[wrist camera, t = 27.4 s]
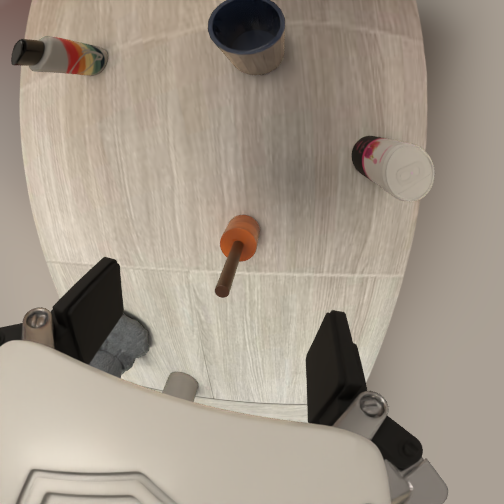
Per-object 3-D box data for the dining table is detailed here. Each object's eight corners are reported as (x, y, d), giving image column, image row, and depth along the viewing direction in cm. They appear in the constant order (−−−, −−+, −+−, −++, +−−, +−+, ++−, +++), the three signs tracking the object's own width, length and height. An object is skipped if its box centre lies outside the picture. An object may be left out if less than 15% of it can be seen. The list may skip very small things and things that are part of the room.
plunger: (247, 208, 44) (226, 261, 28) (266, 235, 46) (256, 299, 30) (221, 225, 46) (188, 283, 30) (239, 250, 47) (217, 317, 31)
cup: (163, 372, 66) (151, 401, 57) (188, 370, 64) (177, 401, 55) (179, 390, 69) (169, 418, 60) (203, 389, 67) (195, 418, 58)
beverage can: (344, 144, 38) (376, 155, 24) (380, 130, 36) (425, 136, 22) (360, 182, 40) (395, 211, 27) (394, 168, 38) (441, 191, 25)
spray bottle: (108, 70, 35) (26, 60, 17) (85, 80, 35) (3, 78, 17) (108, 43, 32) (29, 24, 14) (85, 54, 33) (6, 44, 15)
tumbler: (263, 21, 30) (256, -16, 18) (295, 58, 32) (300, 31, 21) (219, 47, 33) (194, 20, 21) (249, 85, 35) (235, 68, 24)
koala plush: (84, 314, 60) (44, 365, 43) (123, 294, 55) (77, 355, 38) (125, 360, 66) (96, 413, 49) (169, 348, 61) (141, 413, 44)
